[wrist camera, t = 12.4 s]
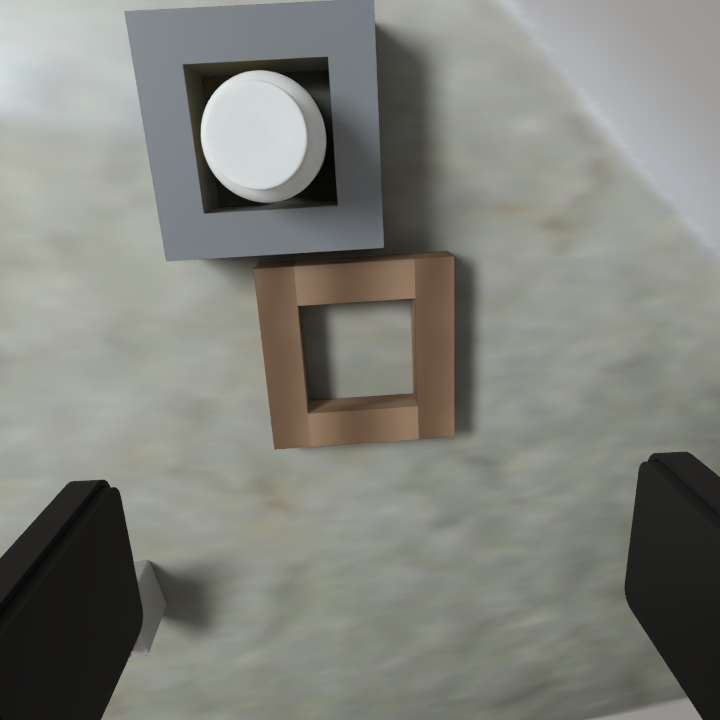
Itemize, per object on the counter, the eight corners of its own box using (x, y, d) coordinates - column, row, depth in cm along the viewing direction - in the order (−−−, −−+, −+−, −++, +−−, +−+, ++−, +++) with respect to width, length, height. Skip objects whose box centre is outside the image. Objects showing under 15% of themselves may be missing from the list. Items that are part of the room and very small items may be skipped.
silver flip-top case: (167, 606, 41) (129, 708, 33) (143, 610, 41) (100, 713, 33) (135, 523, 38) (86, 612, 31) (110, 528, 38) (55, 618, 31)
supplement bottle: (207, 144, 31) (153, 136, 22) (273, 65, 30) (246, 22, 21) (282, 215, 32) (261, 235, 23) (348, 142, 31) (354, 134, 22)
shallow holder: (447, 251, 33) (454, 256, 31) (448, 422, 37) (454, 436, 35) (258, 262, 33) (253, 269, 31) (277, 434, 37) (274, 449, 35)
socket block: (368, 19, 29) (373, -2, 25) (378, 237, 33) (384, 247, 29) (151, 31, 29) (124, 11, 25) (185, 249, 32) (166, 261, 29)
